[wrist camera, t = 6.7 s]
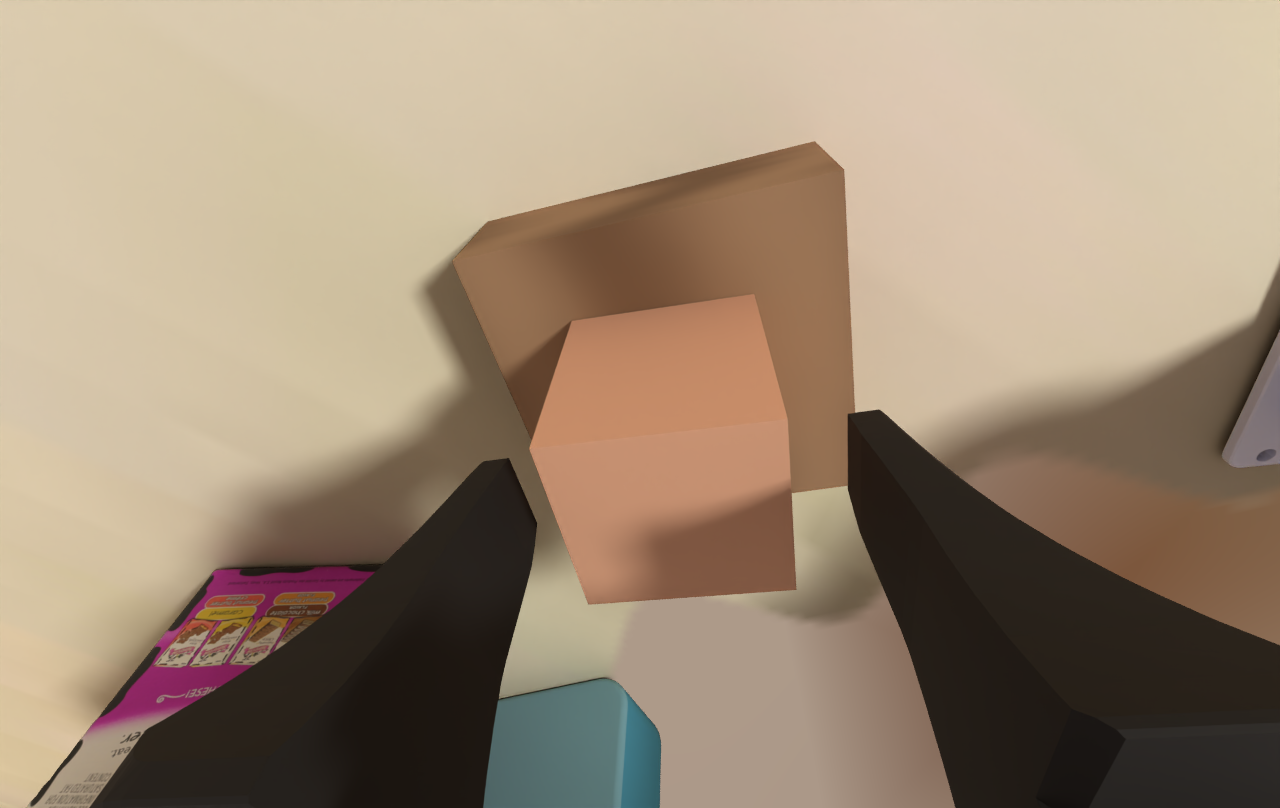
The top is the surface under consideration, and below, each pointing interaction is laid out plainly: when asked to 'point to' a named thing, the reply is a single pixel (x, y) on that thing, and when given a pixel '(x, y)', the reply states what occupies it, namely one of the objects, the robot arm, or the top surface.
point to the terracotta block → (670, 454)
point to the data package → (573, 750)
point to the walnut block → (687, 281)
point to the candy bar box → (199, 662)
